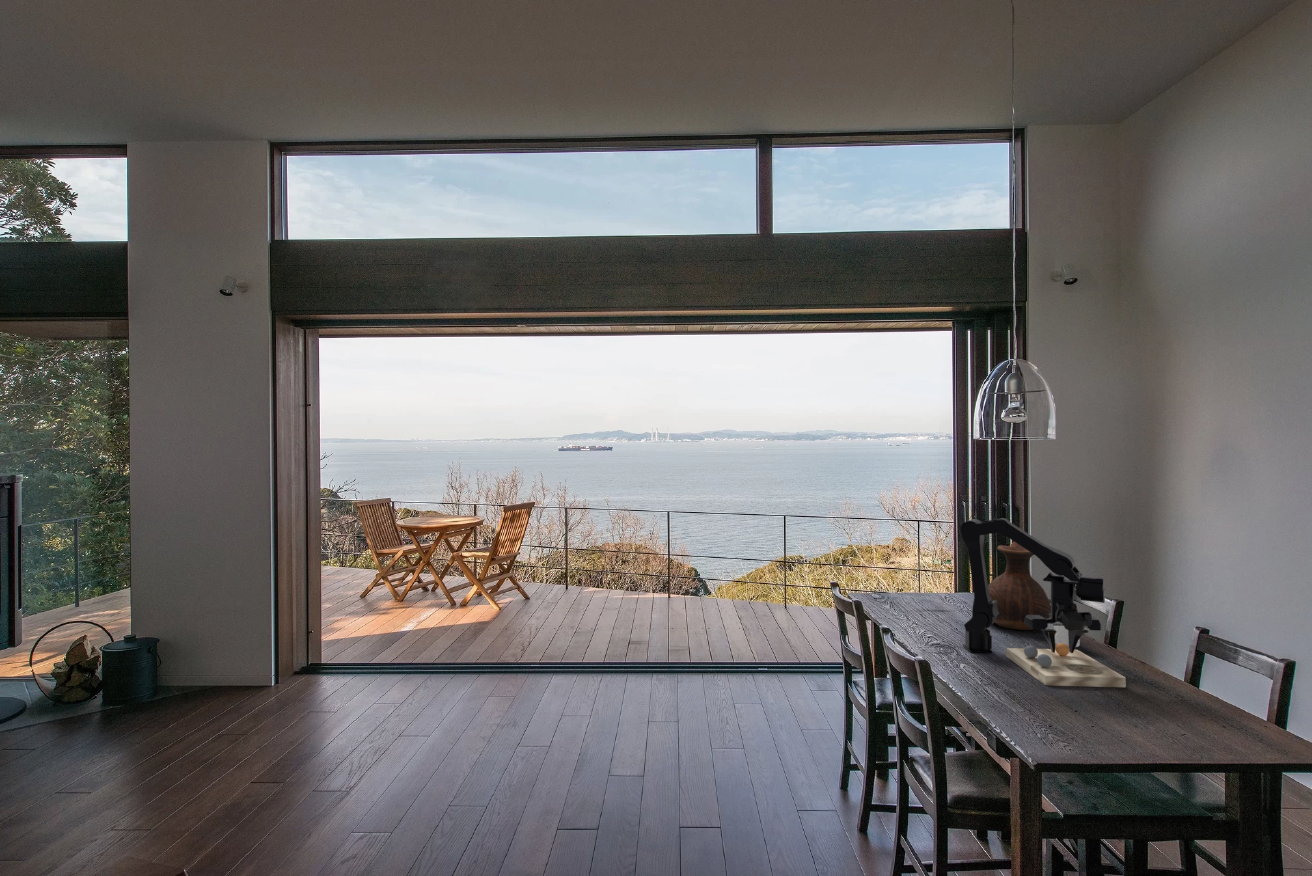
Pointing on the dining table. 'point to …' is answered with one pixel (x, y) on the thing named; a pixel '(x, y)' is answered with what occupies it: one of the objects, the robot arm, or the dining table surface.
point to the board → (1067, 669)
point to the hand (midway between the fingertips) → (1062, 652)
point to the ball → (1062, 649)
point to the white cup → (1062, 635)
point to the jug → (1017, 590)
